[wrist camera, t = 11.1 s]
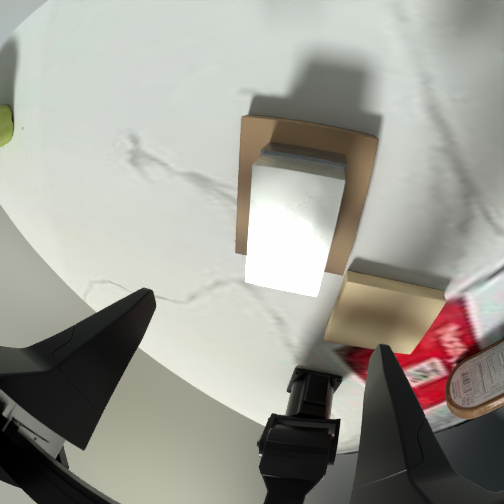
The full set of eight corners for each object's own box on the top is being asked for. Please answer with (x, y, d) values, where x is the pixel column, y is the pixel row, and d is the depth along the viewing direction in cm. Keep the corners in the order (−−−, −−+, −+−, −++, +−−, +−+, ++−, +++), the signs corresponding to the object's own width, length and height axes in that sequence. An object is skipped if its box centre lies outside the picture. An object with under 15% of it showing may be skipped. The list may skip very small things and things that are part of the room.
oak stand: (408, 343, 25) (409, 354, 24) (325, 329, 27) (324, 340, 26) (442, 290, 21) (446, 301, 20) (347, 270, 23) (347, 281, 21)
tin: (443, 376, 27) (449, 430, 21) (439, 366, 26) (446, 423, 20) (532, 329, 19) (550, 379, 12) (533, 316, 18) (554, 368, 12)
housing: (345, 154, 16) (350, 177, 12) (324, 255, 21) (319, 299, 17) (269, 141, 17) (248, 160, 13) (261, 242, 22) (242, 283, 18)
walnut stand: (343, 264, 22) (342, 275, 21) (240, 243, 24) (235, 252, 23) (375, 135, 16) (378, 139, 15) (247, 114, 18) (241, 116, 17)
